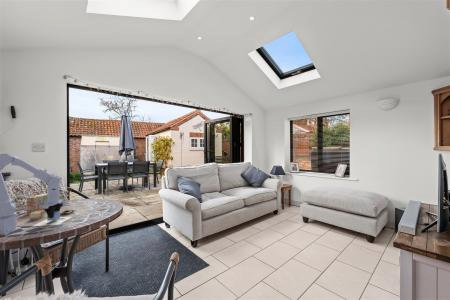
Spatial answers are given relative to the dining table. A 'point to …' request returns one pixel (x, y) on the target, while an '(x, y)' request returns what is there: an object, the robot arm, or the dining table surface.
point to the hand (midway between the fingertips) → (53, 216)
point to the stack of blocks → (37, 202)
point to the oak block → (37, 215)
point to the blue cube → (55, 217)
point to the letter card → (53, 221)
